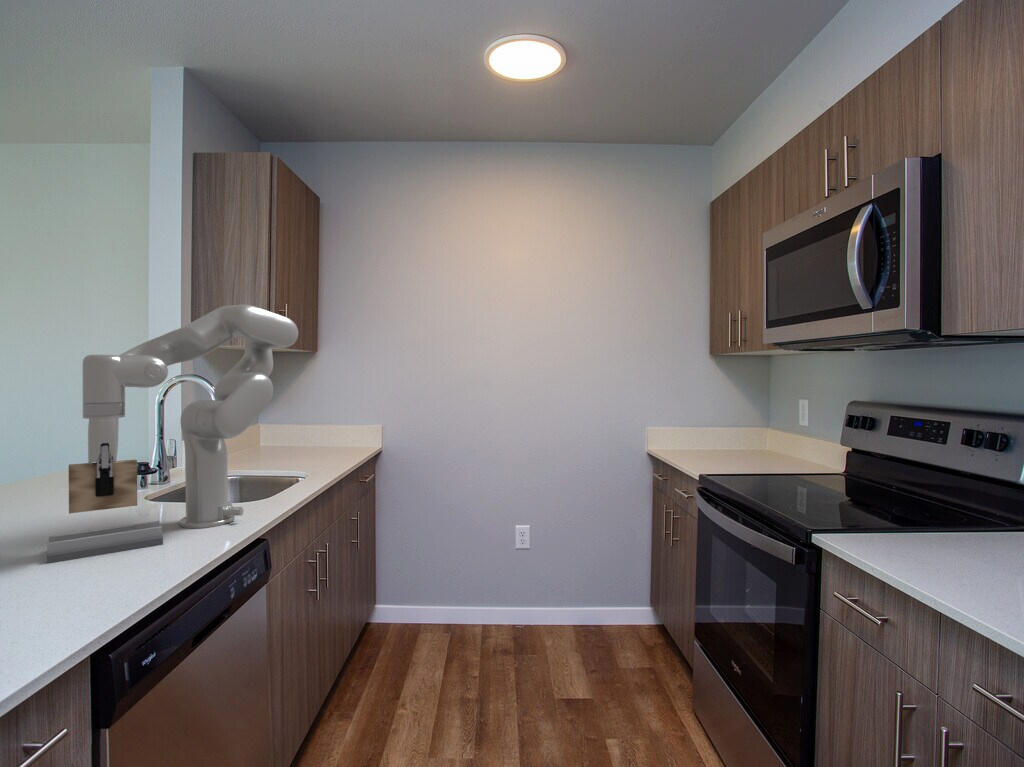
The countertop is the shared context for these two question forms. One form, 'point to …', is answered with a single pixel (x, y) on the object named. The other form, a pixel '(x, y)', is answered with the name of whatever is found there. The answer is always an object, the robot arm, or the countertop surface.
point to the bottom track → (103, 541)
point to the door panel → (84, 487)
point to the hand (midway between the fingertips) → (104, 493)
